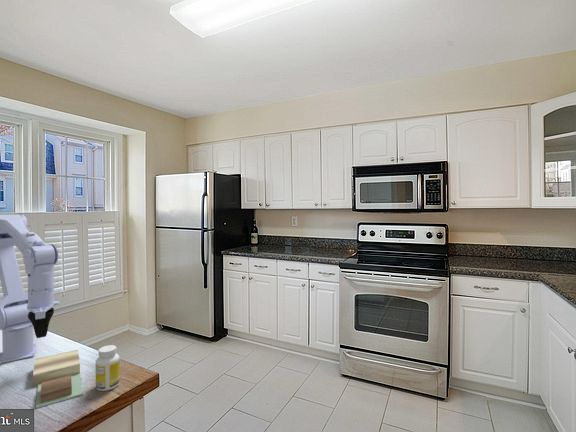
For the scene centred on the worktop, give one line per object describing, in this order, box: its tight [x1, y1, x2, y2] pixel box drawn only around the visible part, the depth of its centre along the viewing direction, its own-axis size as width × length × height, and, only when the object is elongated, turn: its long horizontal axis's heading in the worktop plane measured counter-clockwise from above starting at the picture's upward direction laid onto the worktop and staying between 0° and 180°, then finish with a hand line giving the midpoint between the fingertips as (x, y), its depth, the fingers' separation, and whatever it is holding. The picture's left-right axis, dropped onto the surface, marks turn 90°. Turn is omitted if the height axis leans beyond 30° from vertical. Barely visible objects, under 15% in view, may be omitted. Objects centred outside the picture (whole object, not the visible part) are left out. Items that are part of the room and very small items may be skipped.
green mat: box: [35, 373, 84, 409], centre depth 79 cm, size 11×9×1 cm
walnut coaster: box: [40, 375, 72, 403], centre depth 77 cm, size 6×6×2 cm
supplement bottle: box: [95, 344, 121, 392], centre depth 81 cm, size 5×5×10 cm
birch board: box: [32, 349, 81, 387], centre depth 87 cm, size 10×10×3 cm
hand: (41, 336), depth 88 cm, fingers closed
